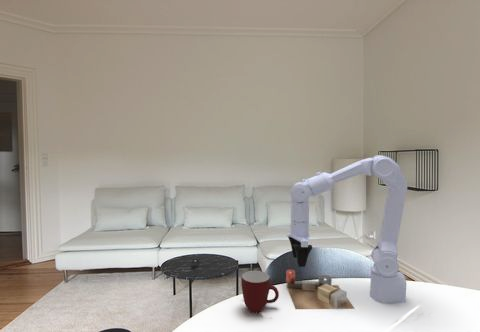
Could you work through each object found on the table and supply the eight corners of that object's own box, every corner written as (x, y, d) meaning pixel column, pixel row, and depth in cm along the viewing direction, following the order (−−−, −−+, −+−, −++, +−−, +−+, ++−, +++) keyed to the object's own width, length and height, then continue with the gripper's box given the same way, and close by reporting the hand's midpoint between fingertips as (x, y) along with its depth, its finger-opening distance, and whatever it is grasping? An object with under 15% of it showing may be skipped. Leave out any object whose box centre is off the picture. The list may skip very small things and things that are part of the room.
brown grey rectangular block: (340, 300, 96) (340, 289, 96) (346, 303, 95) (346, 291, 95) (330, 306, 93) (330, 294, 93) (336, 308, 92) (336, 297, 91)
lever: (329, 284, 106) (330, 270, 106) (332, 291, 102) (333, 276, 101) (285, 283, 107) (285, 268, 107) (286, 289, 102) (286, 274, 102)
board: (337, 288, 107) (337, 285, 107) (354, 311, 92) (354, 308, 92) (286, 288, 106) (286, 285, 106) (295, 312, 92) (295, 309, 92)
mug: (276, 302, 97) (276, 270, 96) (280, 317, 89) (280, 282, 88) (240, 303, 97) (241, 270, 96) (241, 318, 89) (241, 282, 88)
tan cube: (325, 294, 100) (326, 283, 100) (336, 299, 97) (337, 288, 97) (317, 298, 98) (317, 287, 97) (328, 304, 94) (328, 292, 94)
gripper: (283, 215, 110) (282, 253, 112) (291, 226, 96) (291, 271, 97) (304, 214, 111) (303, 253, 112) (315, 226, 96) (314, 270, 97)
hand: (299, 261), depth 105 cm, fingers open, 7 cm apart
